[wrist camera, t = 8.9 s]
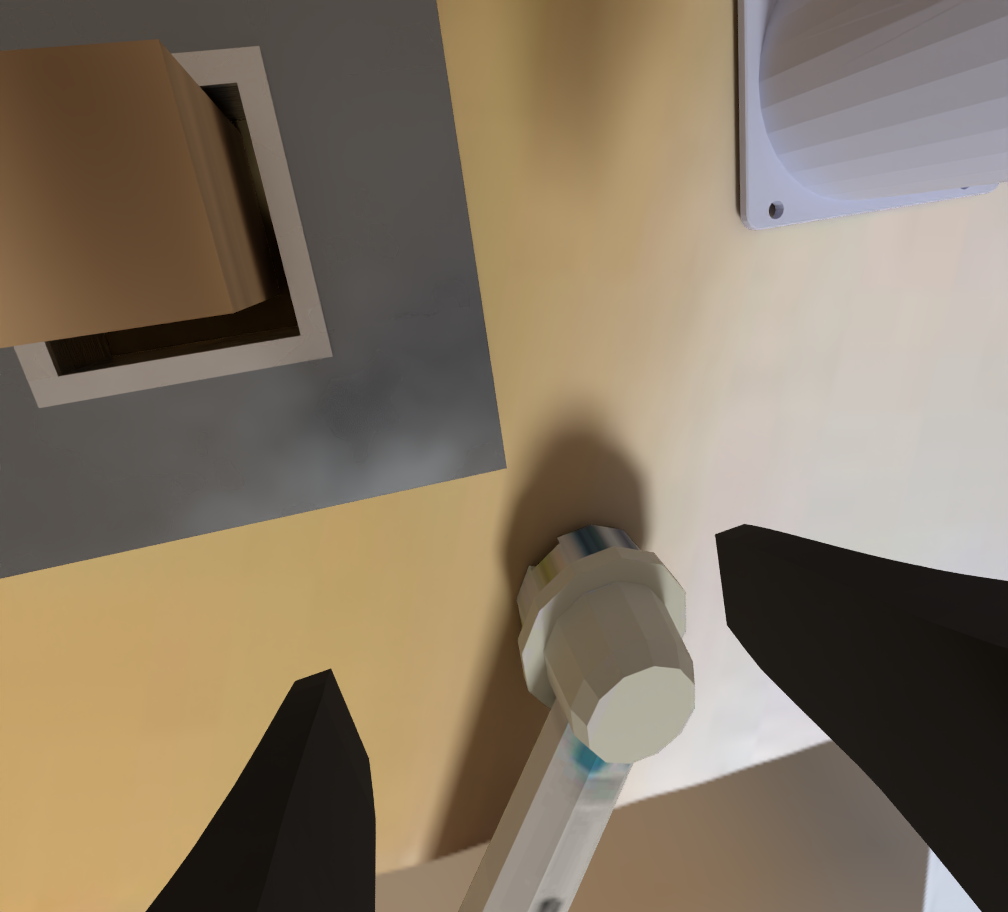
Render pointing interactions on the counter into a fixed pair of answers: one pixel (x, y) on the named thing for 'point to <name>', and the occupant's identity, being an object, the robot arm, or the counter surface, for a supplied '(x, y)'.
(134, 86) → the oak peg
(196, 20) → the grey socket base
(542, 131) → the counter surface
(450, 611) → the counter surface
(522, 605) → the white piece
